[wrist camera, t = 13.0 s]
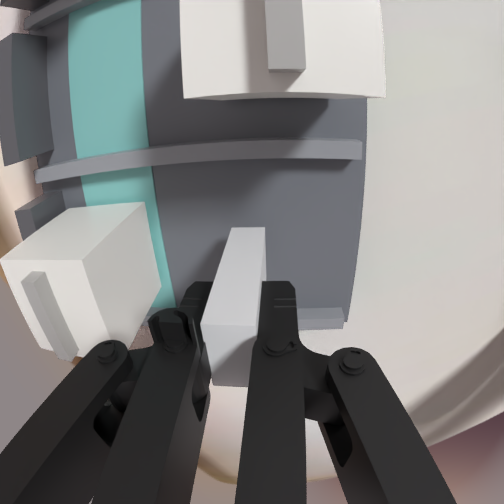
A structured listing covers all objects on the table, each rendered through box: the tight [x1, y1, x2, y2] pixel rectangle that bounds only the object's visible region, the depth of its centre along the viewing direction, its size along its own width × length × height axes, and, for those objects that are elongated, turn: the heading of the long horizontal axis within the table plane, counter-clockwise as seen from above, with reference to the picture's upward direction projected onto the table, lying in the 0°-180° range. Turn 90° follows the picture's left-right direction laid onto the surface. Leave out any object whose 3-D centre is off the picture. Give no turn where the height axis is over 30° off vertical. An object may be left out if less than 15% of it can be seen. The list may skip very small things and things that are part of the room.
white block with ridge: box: [180, 0, 386, 100], centre depth 8 cm, size 5×5×7 cm
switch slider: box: [0, 202, 162, 362], centre depth 13 cm, size 5×5×7 cm
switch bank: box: [0, 0, 367, 330], centre depth 11 cm, size 18×30×5 cm, turn 3°
